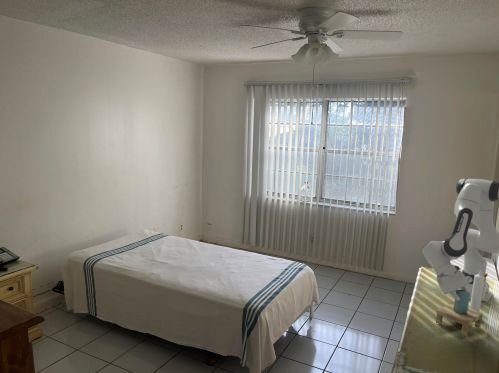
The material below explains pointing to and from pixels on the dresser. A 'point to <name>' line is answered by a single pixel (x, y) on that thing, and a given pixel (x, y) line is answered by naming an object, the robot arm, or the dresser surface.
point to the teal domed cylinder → (462, 302)
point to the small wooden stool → (460, 317)
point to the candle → (477, 292)
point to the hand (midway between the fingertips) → (463, 298)
